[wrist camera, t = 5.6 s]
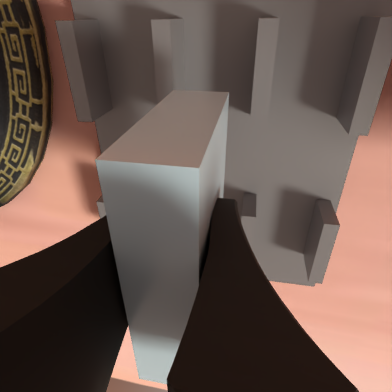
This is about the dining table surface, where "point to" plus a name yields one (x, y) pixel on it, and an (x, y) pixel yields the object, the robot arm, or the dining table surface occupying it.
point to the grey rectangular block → (164, 216)
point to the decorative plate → (23, 95)
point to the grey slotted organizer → (246, 100)
